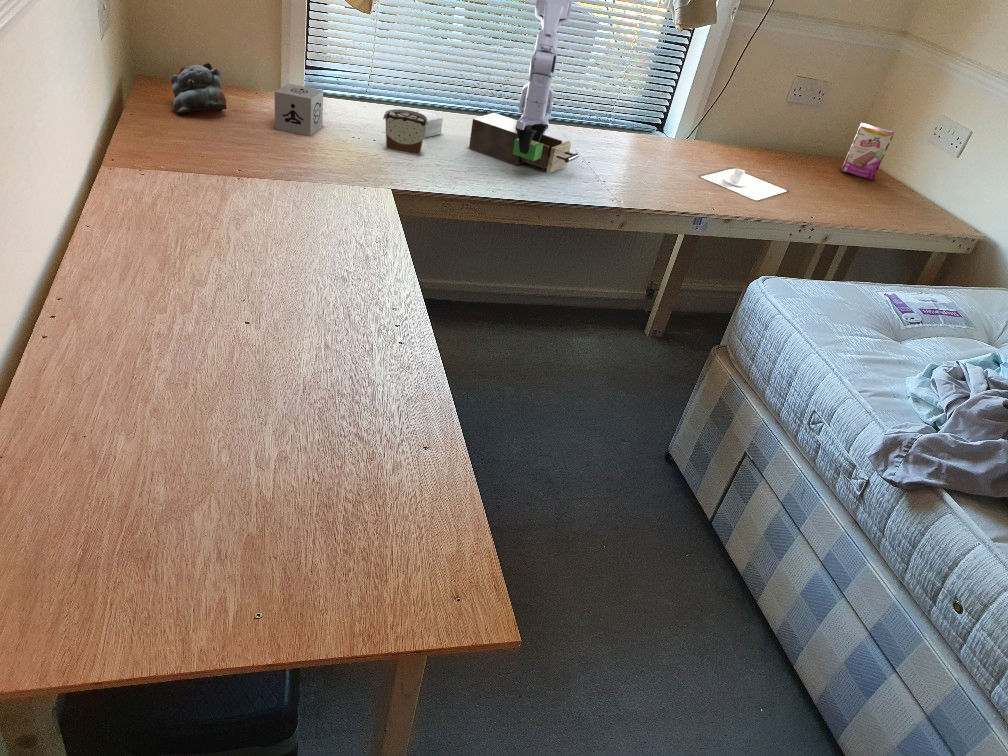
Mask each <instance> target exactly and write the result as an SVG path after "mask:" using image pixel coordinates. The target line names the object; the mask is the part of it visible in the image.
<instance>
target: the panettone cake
mask: <svg viewBox="0 0 1008 756" xmlns="http://www.w3.org/2000/svg"><path fill="white" fill-rule="evenodd" d="M382 120H385V149H386V150H388V151H394V152H399V153H404V154H410V155H414V156H420V155H421V151H422V148H423V143H424V139H425V138H424V133H425V128H426V124H427V128H428V120H427V117H426V116H424V115H423V114H420V113H418V111H414V110H411V109H410V110H409V109H402V108H401V109H400V108H395V109H389V110H386V111H385V113H384V115H383V118H382Z"/></svg>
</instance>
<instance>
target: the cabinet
mask: <svg viewBox="0 0 1008 756" xmlns="http://www.w3.org/2000/svg"><path fill="white" fill-rule="evenodd" d="M517 121H518V120H517V119H514V118H512V117H508V116H505V115H502V114H499V113H496V112H491V113H488V114H485V115H481V116H478V117H477V116H476V117H474V118H472V121H471V129H470V130H471V131H470V137H469V145H468V149H470V150H473V151H475V152H478V153H480V154H484V155H487V156H490V157H492V158H495V159H498V160H501V161H504V162H507V163H509V164H512V165H515V166H520V165H523V164H524V163H526V162H524V161H521V160H520V156H517V155H514V154H513V149H514V143H515V140H516V139H518V134H517V131H516V124H517Z"/></svg>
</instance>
